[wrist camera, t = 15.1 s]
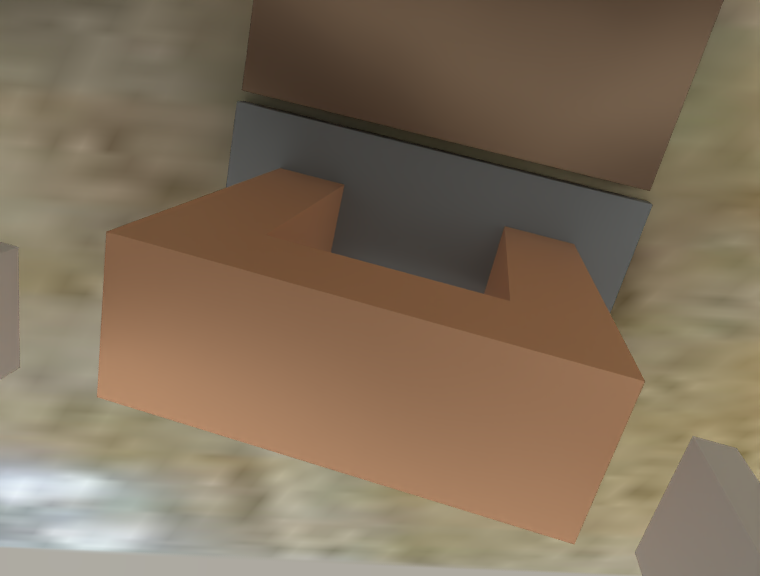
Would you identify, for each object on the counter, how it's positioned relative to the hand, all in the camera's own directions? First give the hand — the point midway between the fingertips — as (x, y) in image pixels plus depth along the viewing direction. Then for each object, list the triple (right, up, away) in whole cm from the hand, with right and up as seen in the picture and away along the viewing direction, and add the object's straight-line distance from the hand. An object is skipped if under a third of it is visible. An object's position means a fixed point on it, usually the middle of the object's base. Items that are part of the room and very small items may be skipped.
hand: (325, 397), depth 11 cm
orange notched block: (+2, +3, +11) cm, 11 cm away
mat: (+2, +3, +11) cm, 12 cm away
